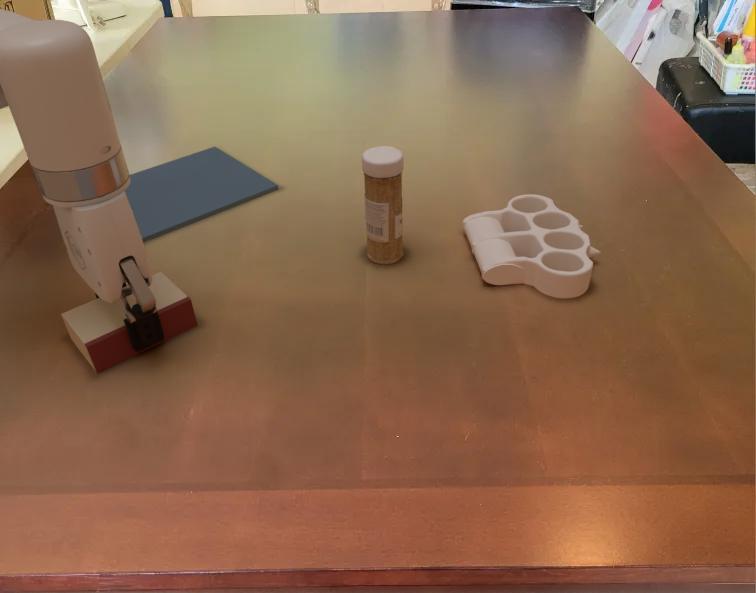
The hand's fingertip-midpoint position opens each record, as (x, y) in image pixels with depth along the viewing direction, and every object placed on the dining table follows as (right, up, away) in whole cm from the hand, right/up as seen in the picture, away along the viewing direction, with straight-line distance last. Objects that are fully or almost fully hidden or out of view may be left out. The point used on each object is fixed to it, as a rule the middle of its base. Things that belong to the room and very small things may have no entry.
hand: (132, 325), depth 69 cm
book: (0, -1, +1) cm, 1 cm away
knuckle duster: (+44, +8, +10) cm, 46 cm away
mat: (-3, +17, +25) cm, 30 cm away
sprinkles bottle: (+27, +8, +11) cm, 30 cm away
